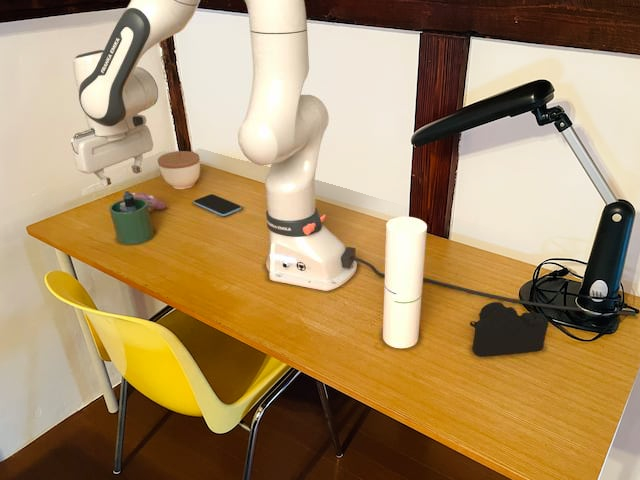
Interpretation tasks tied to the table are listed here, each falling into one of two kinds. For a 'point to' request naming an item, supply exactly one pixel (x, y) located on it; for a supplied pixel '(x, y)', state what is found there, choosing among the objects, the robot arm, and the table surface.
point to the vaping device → (127, 203)
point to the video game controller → (151, 201)
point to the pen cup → (132, 223)
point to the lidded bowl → (180, 168)
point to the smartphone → (217, 205)
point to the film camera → (508, 331)
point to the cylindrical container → (403, 280)
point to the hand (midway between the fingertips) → (122, 178)
